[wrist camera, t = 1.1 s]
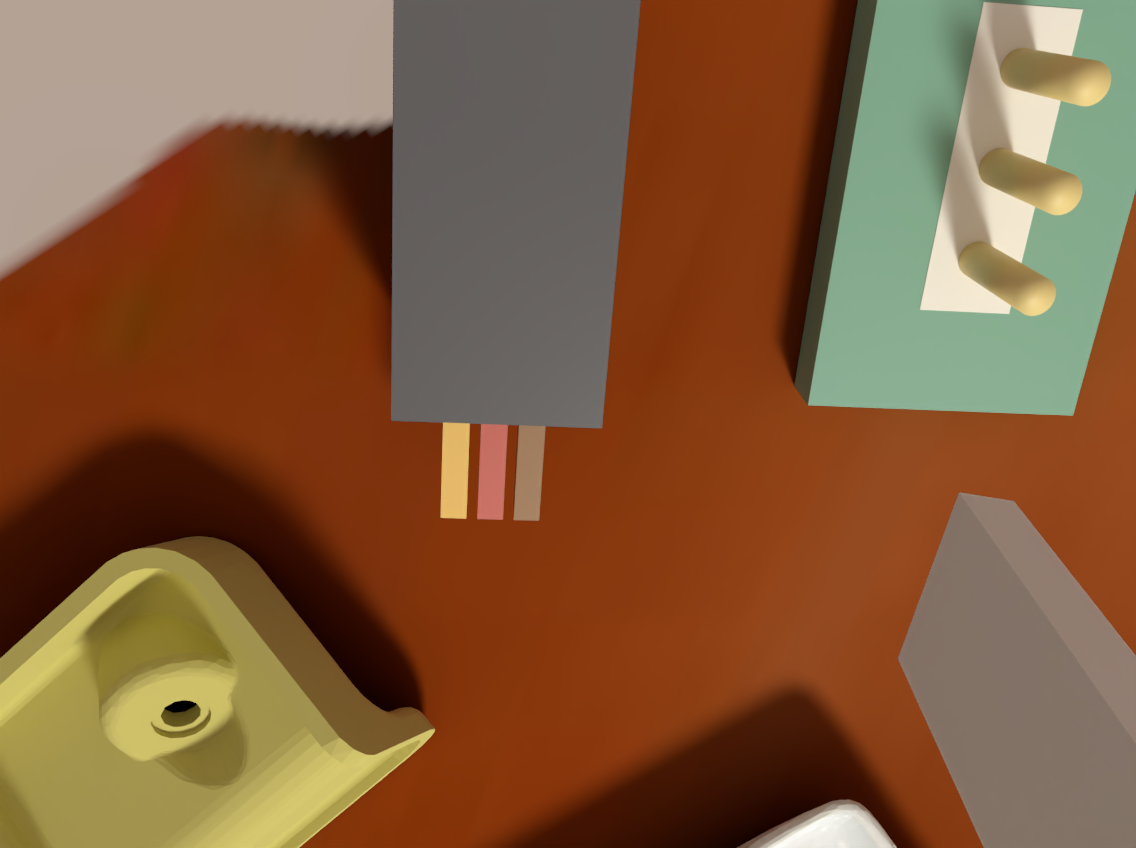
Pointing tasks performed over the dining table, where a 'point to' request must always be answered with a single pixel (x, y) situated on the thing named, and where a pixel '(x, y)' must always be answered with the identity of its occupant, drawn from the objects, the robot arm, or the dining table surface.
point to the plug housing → (506, 225)
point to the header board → (972, 205)
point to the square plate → (827, 829)
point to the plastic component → (184, 713)
